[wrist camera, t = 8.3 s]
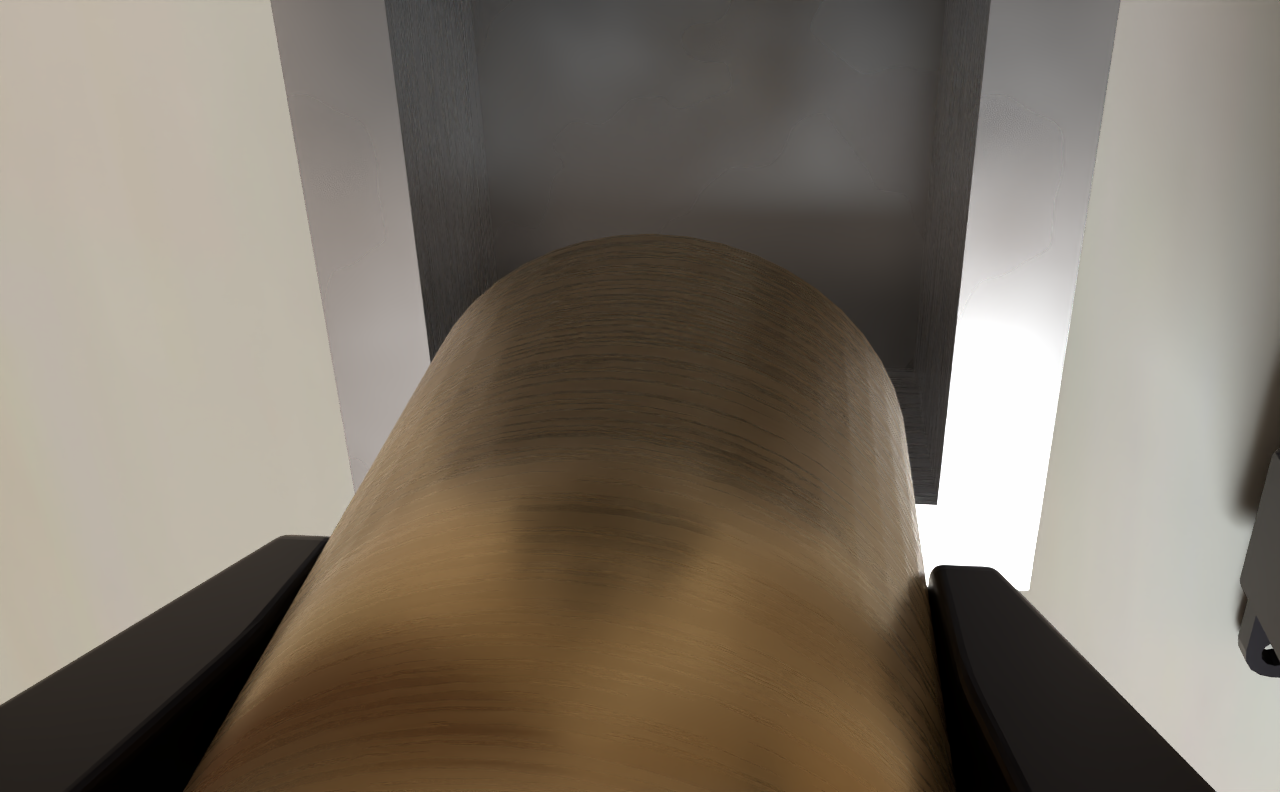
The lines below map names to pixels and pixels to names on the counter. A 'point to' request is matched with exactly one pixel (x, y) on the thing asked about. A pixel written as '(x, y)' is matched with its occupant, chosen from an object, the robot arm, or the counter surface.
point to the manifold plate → (724, 191)
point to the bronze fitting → (617, 556)
